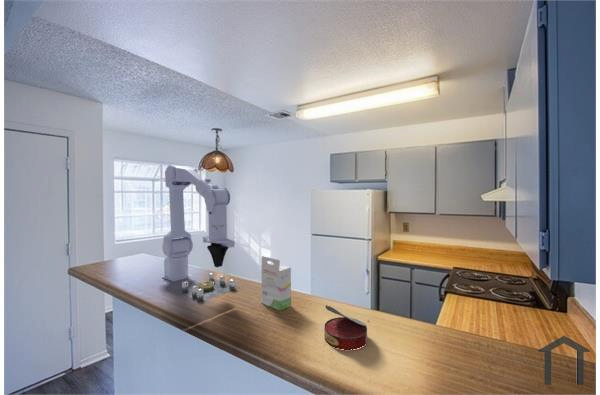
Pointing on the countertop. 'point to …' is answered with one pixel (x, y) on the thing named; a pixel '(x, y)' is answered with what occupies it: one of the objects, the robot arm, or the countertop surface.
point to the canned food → (345, 332)
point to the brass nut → (206, 285)
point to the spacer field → (201, 295)
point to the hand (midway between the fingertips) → (218, 266)
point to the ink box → (275, 284)
